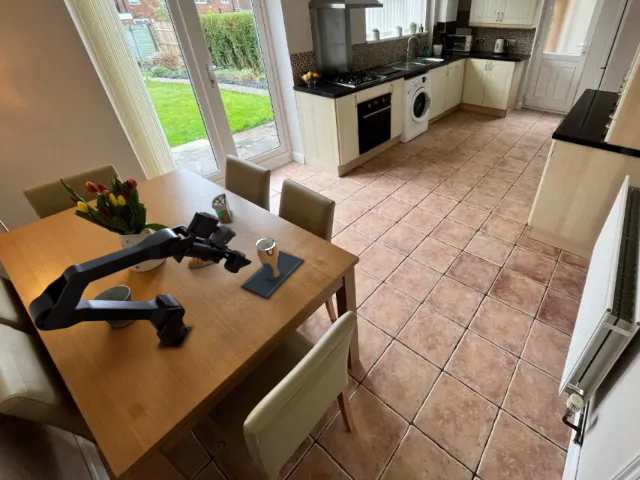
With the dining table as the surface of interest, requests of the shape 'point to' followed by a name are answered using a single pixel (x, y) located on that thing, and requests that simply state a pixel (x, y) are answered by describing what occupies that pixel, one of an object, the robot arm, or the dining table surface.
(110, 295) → the ceramic cup
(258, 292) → the mat
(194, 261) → the pastry
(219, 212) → the food container
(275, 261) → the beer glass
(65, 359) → the dining table surface
